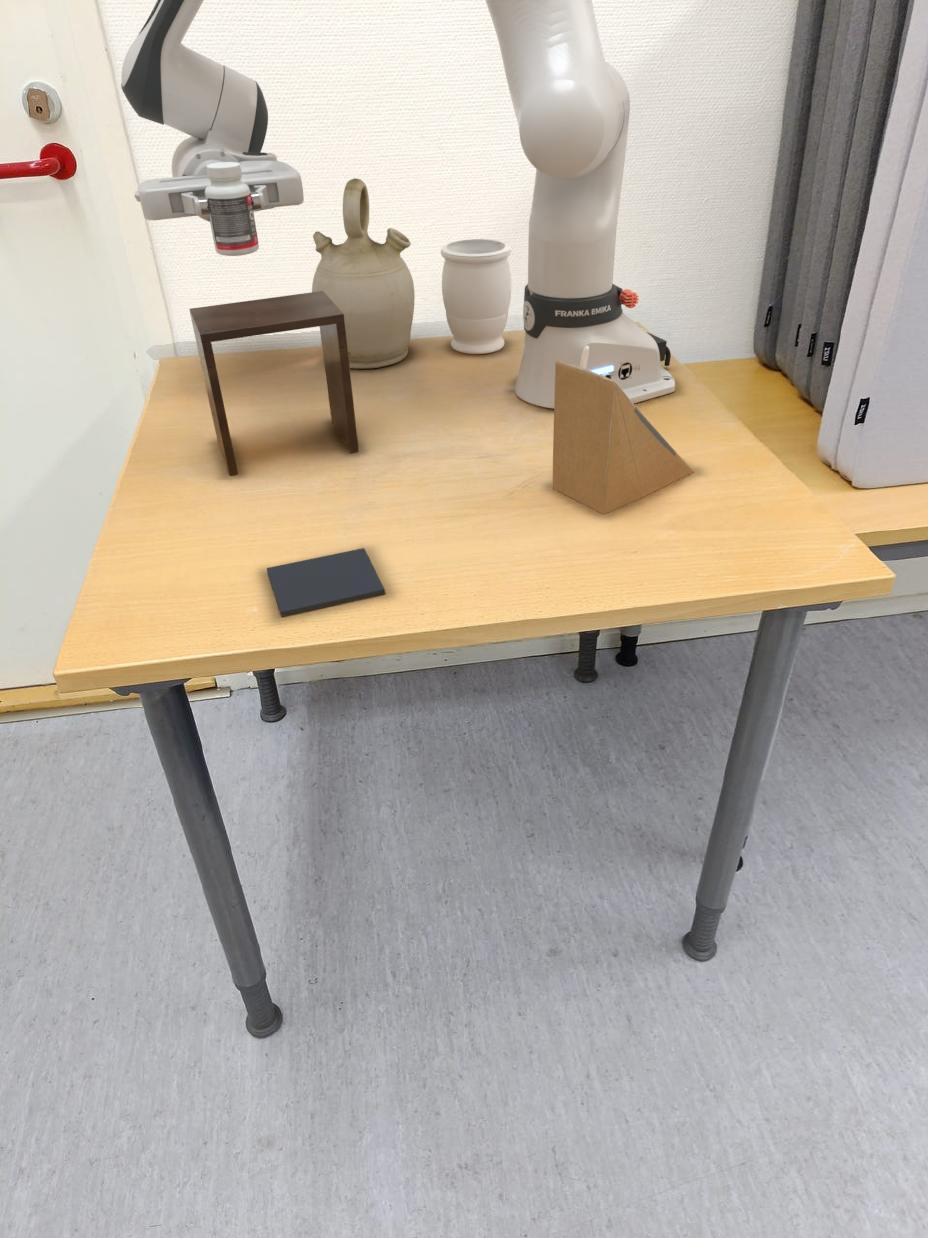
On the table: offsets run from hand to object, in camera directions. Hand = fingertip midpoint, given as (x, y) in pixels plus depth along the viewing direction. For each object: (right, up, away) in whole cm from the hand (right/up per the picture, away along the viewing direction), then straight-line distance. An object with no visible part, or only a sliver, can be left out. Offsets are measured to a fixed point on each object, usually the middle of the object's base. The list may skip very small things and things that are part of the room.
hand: (231, 204), depth 104 cm
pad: (+15, -47, -20) cm, 53 cm away
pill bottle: (0, -4, +4) cm, 6 cm away
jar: (+30, -7, +33) cm, 45 cm away
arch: (+6, -28, +5) cm, 29 cm away
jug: (+13, -9, +31) cm, 35 cm away
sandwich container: (+47, -34, -4) cm, 58 cm away
